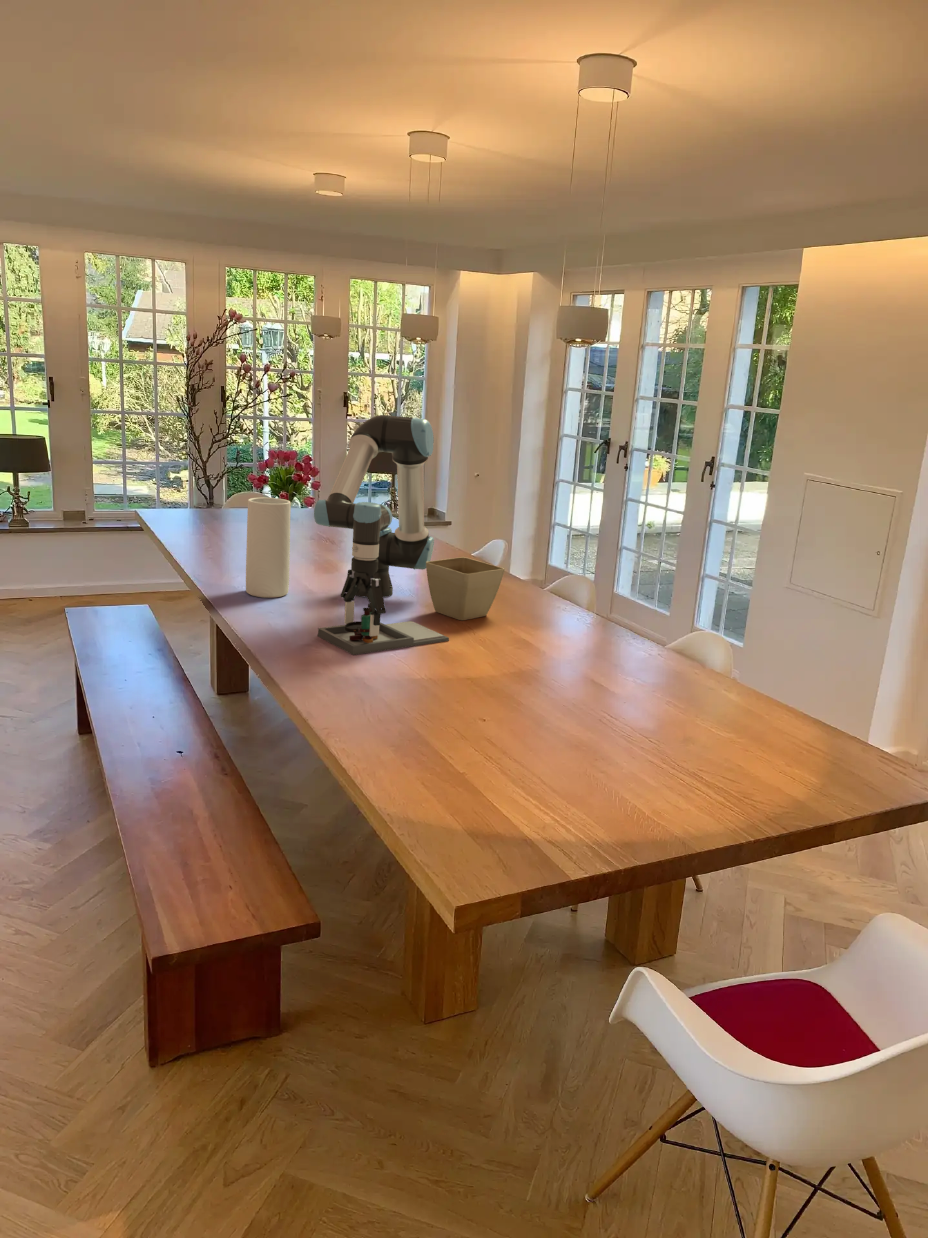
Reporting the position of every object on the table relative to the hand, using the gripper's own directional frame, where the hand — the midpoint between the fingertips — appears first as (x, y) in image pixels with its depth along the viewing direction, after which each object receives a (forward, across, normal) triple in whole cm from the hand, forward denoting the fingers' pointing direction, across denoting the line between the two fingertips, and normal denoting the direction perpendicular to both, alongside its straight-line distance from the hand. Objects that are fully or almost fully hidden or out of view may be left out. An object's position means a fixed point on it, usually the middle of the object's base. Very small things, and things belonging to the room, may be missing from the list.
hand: (361, 629), depth 263 cm
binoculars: (+3, 0, 0) cm, 3 cm away
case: (+3, +1, +7) cm, 8 cm away
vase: (+4, -59, 0) cm, 59 cm away
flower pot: (+4, -12, +47) cm, 49 cm away
